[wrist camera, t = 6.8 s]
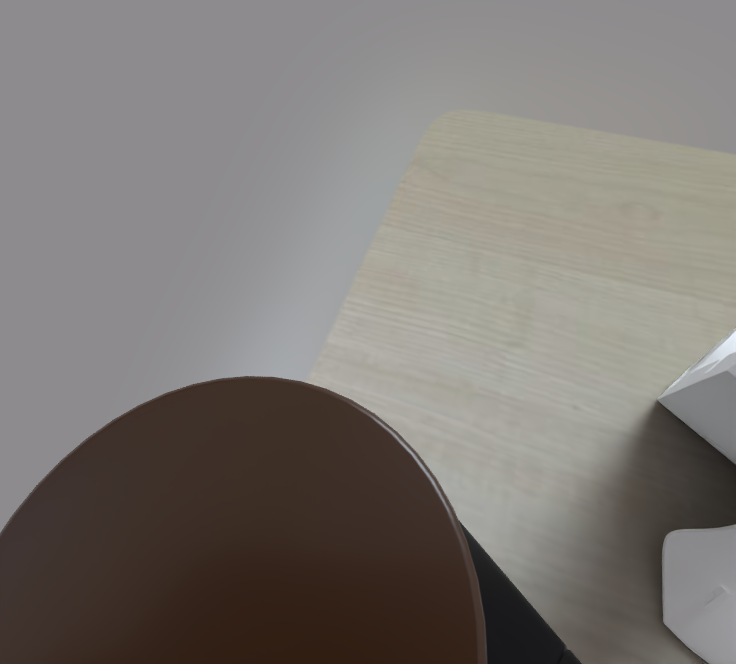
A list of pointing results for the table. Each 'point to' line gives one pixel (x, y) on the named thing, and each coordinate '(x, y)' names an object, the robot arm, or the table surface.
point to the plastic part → (714, 545)
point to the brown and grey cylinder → (240, 540)
